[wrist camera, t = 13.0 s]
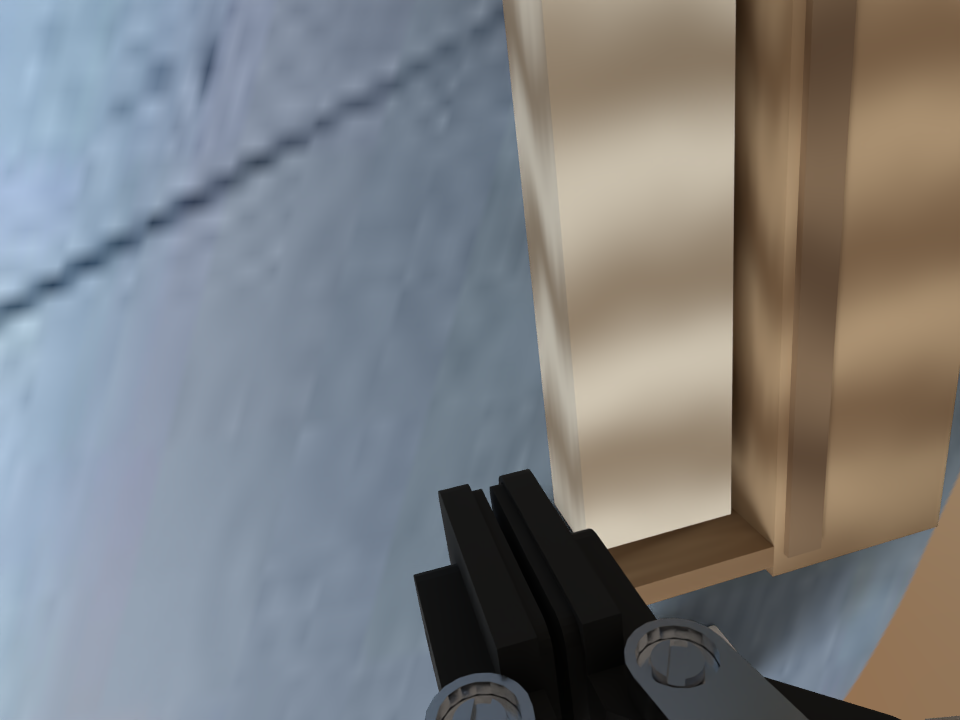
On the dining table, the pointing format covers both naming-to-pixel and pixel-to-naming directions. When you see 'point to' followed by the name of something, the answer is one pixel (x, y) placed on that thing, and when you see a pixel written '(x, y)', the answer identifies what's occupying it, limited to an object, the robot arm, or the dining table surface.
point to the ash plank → (630, 252)
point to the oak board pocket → (834, 290)
